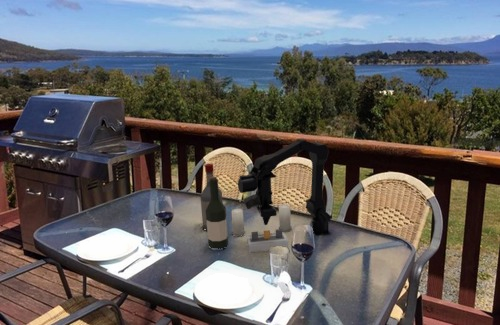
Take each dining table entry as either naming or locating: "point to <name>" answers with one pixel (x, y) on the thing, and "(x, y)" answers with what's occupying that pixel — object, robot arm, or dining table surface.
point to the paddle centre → (267, 234)
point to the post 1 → (237, 222)
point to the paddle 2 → (278, 233)
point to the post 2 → (284, 218)
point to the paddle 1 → (255, 235)
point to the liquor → (207, 194)
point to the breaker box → (266, 242)
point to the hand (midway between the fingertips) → (265, 224)
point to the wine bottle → (216, 218)
